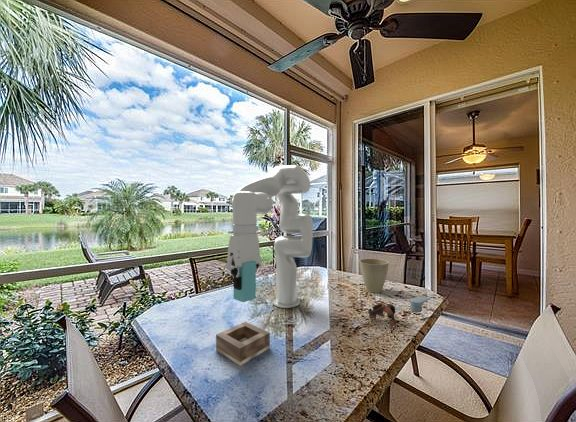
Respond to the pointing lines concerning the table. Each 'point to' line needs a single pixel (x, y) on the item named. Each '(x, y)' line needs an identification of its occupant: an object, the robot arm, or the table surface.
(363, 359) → the table surface
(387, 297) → the table surface
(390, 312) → the brown toy animal
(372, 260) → the plant pot
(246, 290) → the teal block
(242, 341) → the walnut well
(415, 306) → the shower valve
